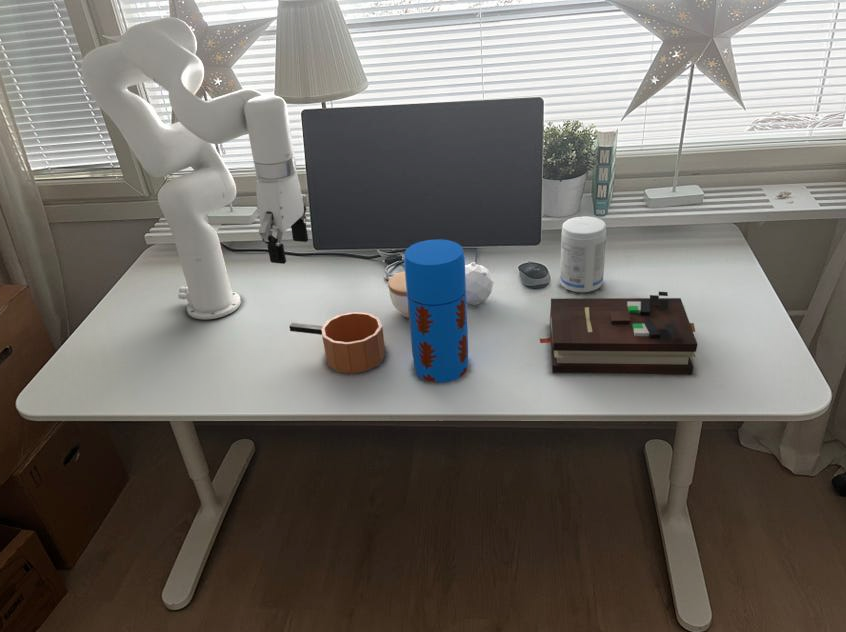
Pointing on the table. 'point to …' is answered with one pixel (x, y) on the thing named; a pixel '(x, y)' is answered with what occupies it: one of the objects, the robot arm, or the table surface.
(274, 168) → the robot arm
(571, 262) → the supplement tub
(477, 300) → the decorative ball
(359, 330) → the copper saucepan
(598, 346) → the decorative book
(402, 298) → the trinket box
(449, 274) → the thermos
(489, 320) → the table surface
